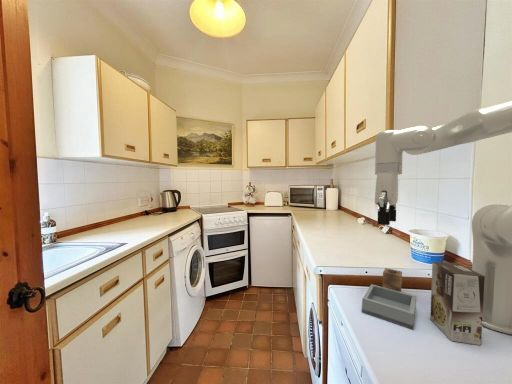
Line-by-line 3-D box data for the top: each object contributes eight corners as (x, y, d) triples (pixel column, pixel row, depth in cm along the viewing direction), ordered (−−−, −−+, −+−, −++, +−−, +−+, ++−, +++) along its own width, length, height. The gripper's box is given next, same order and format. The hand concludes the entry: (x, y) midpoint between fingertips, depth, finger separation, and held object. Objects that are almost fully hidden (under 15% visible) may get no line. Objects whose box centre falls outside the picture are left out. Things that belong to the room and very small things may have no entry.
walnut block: (401, 291, 77) (402, 271, 77) (399, 297, 73) (400, 275, 73) (384, 287, 80) (385, 267, 80) (382, 292, 76) (383, 271, 76)
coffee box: (482, 346, 51) (487, 276, 51) (450, 341, 52) (454, 273, 52) (456, 322, 60) (459, 262, 60) (428, 318, 61) (431, 260, 61)
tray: (415, 309, 66) (416, 295, 66) (413, 329, 56) (413, 314, 56) (370, 296, 73) (371, 284, 73) (361, 312, 64) (362, 298, 64)
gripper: (381, 171, 81) (380, 218, 82) (367, 168, 68) (366, 224, 69) (406, 170, 76) (405, 220, 77) (396, 167, 63) (395, 227, 64)
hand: (387, 222), depth 73 cm, fingers open, 9 cm apart
